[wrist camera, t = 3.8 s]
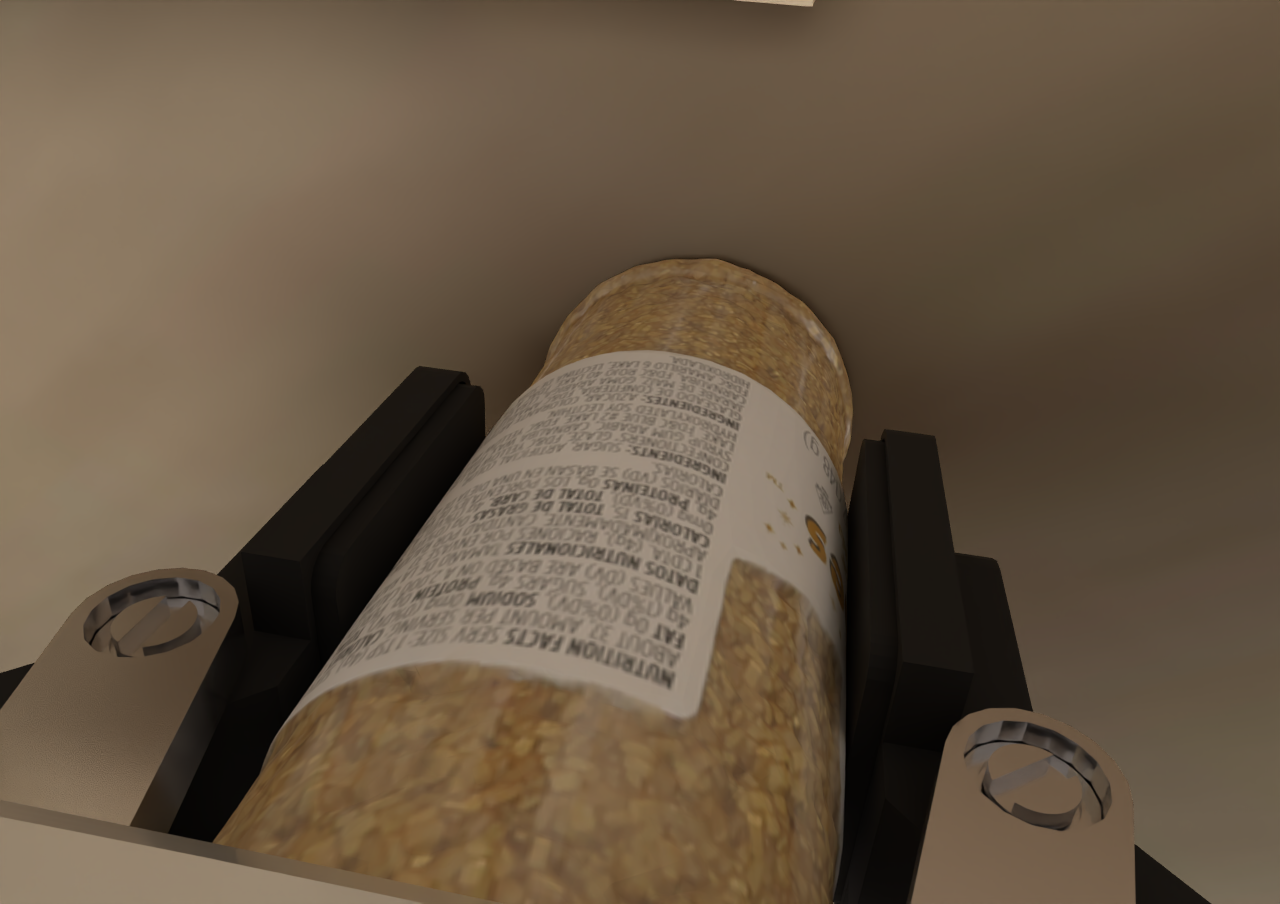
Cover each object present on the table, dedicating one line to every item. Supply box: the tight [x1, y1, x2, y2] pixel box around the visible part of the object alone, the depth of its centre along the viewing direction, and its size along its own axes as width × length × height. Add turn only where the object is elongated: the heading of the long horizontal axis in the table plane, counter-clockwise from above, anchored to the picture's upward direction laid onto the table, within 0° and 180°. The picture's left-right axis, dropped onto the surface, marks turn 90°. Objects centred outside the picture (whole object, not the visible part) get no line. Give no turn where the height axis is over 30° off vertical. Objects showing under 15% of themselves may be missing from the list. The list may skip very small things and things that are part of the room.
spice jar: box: [212, 259, 853, 904], centre depth 8 cm, size 5×5×13 cm
